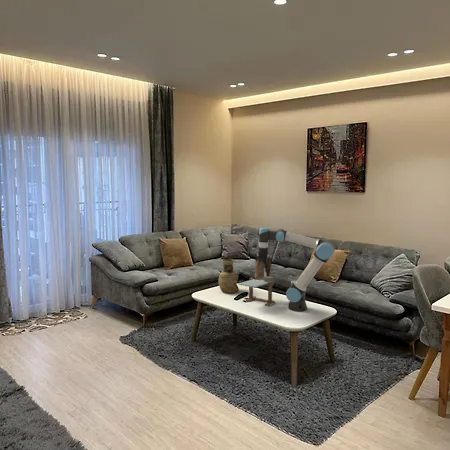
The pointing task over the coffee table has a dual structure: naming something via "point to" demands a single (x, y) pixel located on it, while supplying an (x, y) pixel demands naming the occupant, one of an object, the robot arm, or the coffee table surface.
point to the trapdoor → (258, 282)
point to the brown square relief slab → (261, 269)
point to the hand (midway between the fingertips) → (262, 275)
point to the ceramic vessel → (228, 277)
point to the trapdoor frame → (260, 298)
